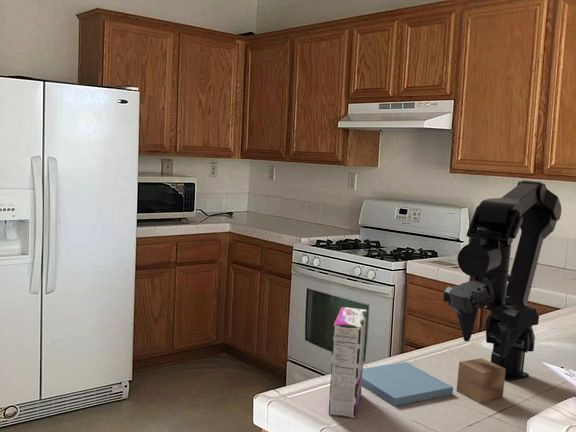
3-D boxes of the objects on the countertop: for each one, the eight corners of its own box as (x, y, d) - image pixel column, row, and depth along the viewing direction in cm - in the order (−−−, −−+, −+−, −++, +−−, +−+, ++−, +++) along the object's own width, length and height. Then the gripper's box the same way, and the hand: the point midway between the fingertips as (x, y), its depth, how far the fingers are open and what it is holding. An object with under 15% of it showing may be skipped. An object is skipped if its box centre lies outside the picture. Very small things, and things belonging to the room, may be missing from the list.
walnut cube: (478, 387, 126) (482, 358, 125) (502, 399, 121) (505, 368, 120) (456, 391, 123) (459, 361, 122) (479, 404, 118) (482, 373, 117)
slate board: (405, 368, 133) (405, 361, 133) (452, 394, 121) (453, 387, 121) (349, 377, 126) (350, 370, 126) (394, 406, 114) (394, 398, 114)
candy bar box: (334, 390, 120) (341, 305, 118) (361, 394, 119) (368, 308, 117) (326, 415, 109) (332, 322, 107) (355, 419, 108) (362, 326, 106)
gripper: (425, 260, 123) (418, 338, 125) (500, 283, 106) (491, 372, 109) (468, 257, 128) (460, 332, 130) (545, 279, 112) (535, 363, 114)
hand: (484, 348), depth 121 cm, fingers open, 9 cm apart
